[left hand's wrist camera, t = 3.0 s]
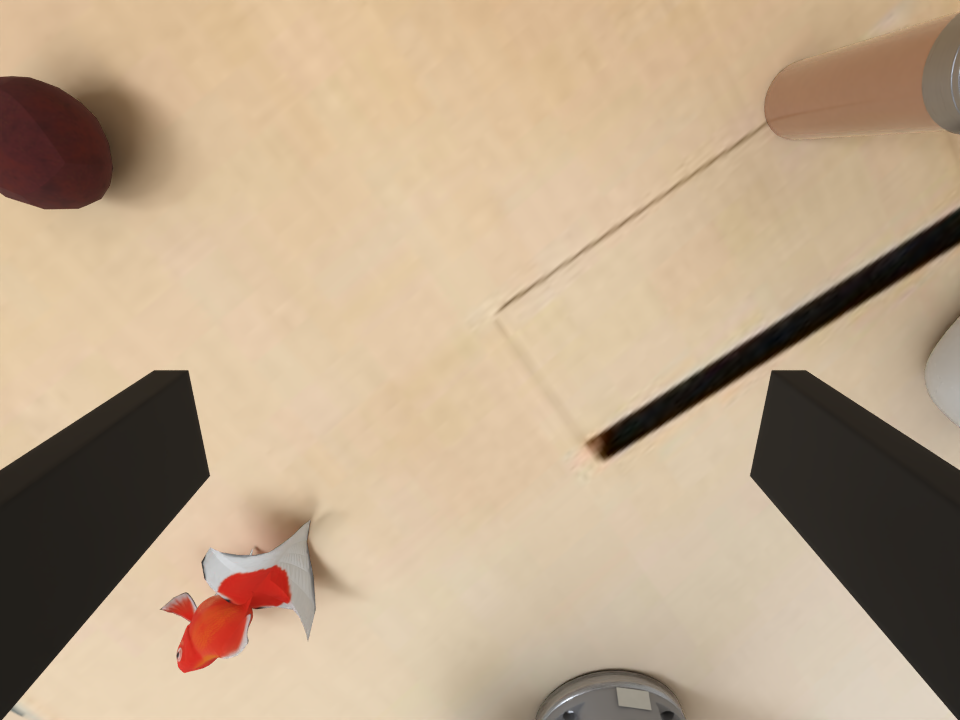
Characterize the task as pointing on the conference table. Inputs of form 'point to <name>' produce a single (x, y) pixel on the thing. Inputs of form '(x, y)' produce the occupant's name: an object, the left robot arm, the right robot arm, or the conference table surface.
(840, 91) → the jar
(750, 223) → the conference table surface
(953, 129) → the lid
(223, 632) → the fish
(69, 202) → the dark maroon ball
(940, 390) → the projector
